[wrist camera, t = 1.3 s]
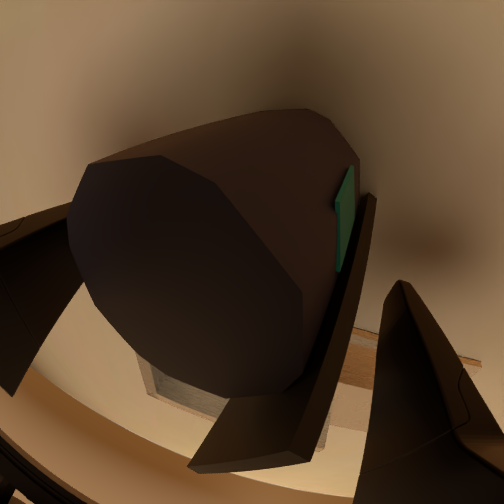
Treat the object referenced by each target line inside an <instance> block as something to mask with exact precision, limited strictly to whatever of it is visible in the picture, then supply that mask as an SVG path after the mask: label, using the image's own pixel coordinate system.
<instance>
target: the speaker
mask: <svg viewBox="0 0 504 504" xmlns="http://www.w3.org/2000/svg"><path fill="white" fill-rule="evenodd" d="M359 181H360V159H359V158H358V157H357V155H356V154H355V152H354V151H353V150H352V148H351V147H350V146H349V144H348V143H347V141H346V140H345V139H344V137H343V136H342V135H341V134H340V132H339V131H338V130H337V128H336V127H335V126H334V124H333V123H332V122H331V121H330V120H329V119H327V118H325V117H323V116H321V115H319V114H317V113H315V112H313V111H311V110H308V109H290V110H270V111H260V112H255V113H250V114H246V115H241V116H237V117H233V118H229V119H225V120H221V121H217V122H213V123H209V124H205V125H202V126H198V127H194V128H191V129H187V130H184V131H181V132H177V133H174V134H171V135H168V136H164V137H161V138H158V139H155V140H152V141H149V142H146V143H143V144H140V145H138V146H135V147H132V148H129V149H126V150H124V151H121V152H118V153H116V154H113V155H111V156H108V157H105V158H103V159H100V160H98V161H95V162H93V163H91V164H88V166H87V168H86V170H85V172H84V175H83V177H82V179H81V181H80V184H79V186H78V188H77V191H76V193H75V195H74V198H73V200H72V203H71V205H70V208H69V211H68V213H67V216H66V217H67V228H68V238H69V246H70V249H71V252H72V254H73V257H74V259H75V262H76V264H77V266H78V269H79V271H80V273H81V276H82V278H83V280H84V283H85V285H86V287H87V289H88V292H89V294H90V296H91V298H92V300H93V302H94V304H95V306H96V307H97V309H98V310H99V311H100V312H101V313H102V315H103V316H104V317H105V318H106V319H107V320H108V322H109V323H110V324H111V325H112V326H113V327H114V328H115V330H116V331H117V332H118V333H119V334H120V335H121V336H122V337H123V339H124V340H125V341H126V342H127V343H128V344H129V345H130V346H131V347H132V348H133V349H134V350H135V352H136V353H137V354H138V355H139V356H140V357H142V358H143V359H145V360H146V361H147V362H149V363H150V364H151V365H153V366H154V367H155V368H157V369H158V370H160V371H161V372H163V373H164V374H165V375H167V376H169V377H172V378H174V379H176V380H179V381H181V382H183V383H186V384H188V385H191V386H193V387H196V388H198V389H201V390H203V391H206V392H209V393H211V394H214V395H217V396H219V397H222V398H225V399H229V398H230V399H229V401H228V402H227V404H226V406H225V407H224V409H223V410H222V412H221V414H220V415H219V417H218V419H217V420H216V422H215V423H214V425H213V427H212V428H211V430H210V431H209V433H208V435H207V436H206V438H205V439H204V441H203V442H202V444H201V446H200V447H199V449H198V450H197V452H196V453H195V455H194V456H193V458H192V459H191V461H190V463H189V464H188V466H187V467H188V468H190V469H191V470H193V471H195V472H197V473H199V474H204V473H205V474H206V473H228V472H241V471H252V470H261V469H269V468H276V467H283V466H289V465H295V464H301V463H306V462H310V461H311V459H312V456H313V454H314V451H315V448H316V446H317V443H318V440H319V438H320V435H321V432H322V429H323V427H324V424H325V421H326V418H327V415H328V412H329V409H330V406H331V403H332V400H333V397H334V394H335V391H336V387H337V384H338V381H339V378H340V374H341V371H342V367H343V364H344V360H345V357H346V353H347V349H348V345H349V342H350V338H351V334H352V330H353V326H354V322H355V317H356V313H357V309H358V304H359V300H360V295H361V291H362V286H363V281H364V276H365V271H366V265H367V260H368V254H369V249H370V243H371V236H372V230H373V223H374V216H375V209H376V201H377V198H375V197H374V196H373V195H372V194H370V193H368V195H367V196H366V197H365V198H364V199H363V201H362V202H361V203H360V204H359Z"/></svg>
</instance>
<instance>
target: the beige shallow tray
mask: <svg viewBox="0 0 504 504" xmlns="http://www.w3.org/2000/svg"><path fill="white" fill-rule="evenodd" d="M378 337H379V335H377V334H374V333H370V332H367V331H363V330H360V329H357V328H353V330H352V334H351V338H350V342H349V345H348V349H347V353H346V357H345V360H344V364H343V367H342V371H341V374H340V378H339V381H338V384H337V387H336V391H335V394H334V397H333V400H332V403H331V406H330V409H329V412H328V415H327V418H326V421H325V424H324V427H323V429H322V432H321V435H320V438H319V440H318V443H317V446H316V448H315V451H316V452H320V451H321V450H323V449H324V447H325V442H326V437H327V432H328V427H329V425H334V426H339V427H343V428H348V429H354V430H359V431H364V432H367V431H368V425H369V418H370V410H371V403H372V394H373V385H374V375H375V363H376V351H377V343H378ZM135 353H136V352H135ZM136 357H137V360H138V364H139V367H140V371H141V374H142V378H143V381H144V384H145V387H146V391H147V394H148V395H150V396H152V397H154V398H156V399H159V400H161V401H163V402H165V403H168V404H170V405H172V406H174V407H177V408H179V409H181V410H184V411H186V412H189V413H191V414H194V415H196V416H199V417H201V418H204V419H207V420H209V421H212V422H216V420H217V419H218V417H219V415H220V414H221V412H222V410H223V409H224V407H225V406H226V404H227V402H228V401H229V399H230V398H229V399H225V398H222V397H219V396H217V395H214V394H211V393H209V392H206V391H203V390H201V389H198V388H196V387H193V386H191V385H188V384H186V383H183V382H181V381H179V380H176V379H174V378H172V377H169V376H167V375H165V374H164V373H163V372H161V371H160V370H158V369H157V368H155V367H154V366H153V365H151V364H150V363H149V362H147V361H146V360H145V359H143V358H142V357H140V356H139V355H138V354H137V353H136ZM458 357H459V356H458ZM459 359H460V360H461V362H462V364H463V368H465V369H466V371H467V373H468V374H469V376H470V378H471V377H472V376H473V375H474V374H475V373H477V372H478V371H479V370H480V369H481V368H482V365H481V362H480V361H476V360H472V359H467V358H463V357H459Z"/></svg>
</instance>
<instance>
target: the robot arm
mask: <svg viewBox="0 0 504 504" xmlns="http://www.w3.org/2000/svg"><path fill="white" fill-rule="evenodd" d="M71 203H72V202H70V203H66V204H63V205H60V206H56V207H53V208H50V209H47V210H44V211H40V212H37V213H34V214H31V215H28V216H26V217H22V218H19V219H17V220H14V221H11V222H8V223H5V224H2V225H0V387H1V388H2V389H4V390H5V391H6V392H7V393H8V394H9V395H10V396H11V397H13V395H14V394H15V392H16V390H17V388H18V386H19V385H20V383H21V381H22V379H23V377H24V375H25V373H26V372H27V370H28V368H29V366H30V365H31V363H32V361H33V359H34V358H35V356H36V354H37V353H38V351H39V349H40V347H41V346H42V344H43V342H44V341H45V339H46V337H47V336H48V334H49V333H50V331H51V329H52V328H53V326H54V325H55V323H56V322H57V320H58V319H59V317H60V315H61V314H62V312H63V311H64V309H65V308H66V306H67V305H68V303H69V302H70V301H71V299H72V298H73V296H74V295H75V293H76V292H77V290H78V289H79V288H80V286H81V285H82V283H83V282H84V280H83V278H82V276H81V273H80V271H79V269H78V266H77V264H76V262H75V259H74V257H73V254H72V252H71V249H70V246H69V238H68V228H67V217H66V216H67V213H68V211H69V208H70V205H71ZM15 489H17V490H19V491H20V492H21V493H22V494H23V495H24V496H26V498H27V499H28V500H30V501H32V502H33V503H34V504H98V503H97V502H95V501H93V500H91V499H90V498H88V497H87V496H85V495H84V494H82V493H80V492H79V491H77V490H76V489H74V488H73V487H71V486H70V485H68V484H67V483H65V482H64V481H62V480H61V479H60V478H58V477H57V476H56V475H54V474H53V473H52V472H50V471H49V470H47V469H46V468H45V467H44V466H42V465H41V464H40V463H39V462H37V461H36V460H35V459H34V458H32V457H31V456H30V455H29V454H28V453H26V452H25V451H24V450H23V449H22V448H21V447H20V446H18V445H17V444H16V443H15V442H14V441H13V440H12V439H11V438H10V437H9V436H7V435H6V434H5V433H4V432H3V431H2V430H1V429H0V504H25V503H24V502H22V501H21V500H19V499H18V498H16V497H14V496H12V495H13V493H14V491H15ZM353 504H504V433H503V432H502V430H501V428H500V427H499V425H498V423H497V422H496V420H495V418H494V416H493V415H492V413H491V411H490V410H489V408H488V406H487V405H486V403H485V402H484V400H483V398H482V397H481V395H480V393H479V392H478V390H477V388H476V387H475V385H474V383H473V381H472V380H471V378H470V376H469V374H468V373H467V371H466V369H465V368H463V364H462V362H461V360H460V359H459V357H458V355H457V354H456V352H455V350H454V349H453V347H452V345H451V344H450V342H449V341H448V339H447V337H446V336H445V334H444V333H443V331H442V329H441V328H440V326H439V325H438V323H437V322H436V320H435V319H434V317H433V316H432V314H431V313H430V311H429V310H428V308H427V307H426V305H425V304H424V302H423V301H422V299H421V298H420V296H419V295H418V294H417V292H416V291H415V289H414V288H413V286H412V285H411V284H410V283H408V282H405V281H403V280H397V281H396V283H395V284H394V286H393V287H392V289H391V290H390V292H389V294H388V295H387V297H386V299H385V301H384V304H383V311H382V318H381V324H380V331H379V337H378V343H377V351H376V363H375V375H374V385H373V394H372V403H371V410H370V418H369V425H368V431H367V437H366V443H365V449H364V454H363V460H362V465H361V470H360V475H359V478H358V483H357V487H356V491H355V496H354V500H353Z"/></svg>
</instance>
